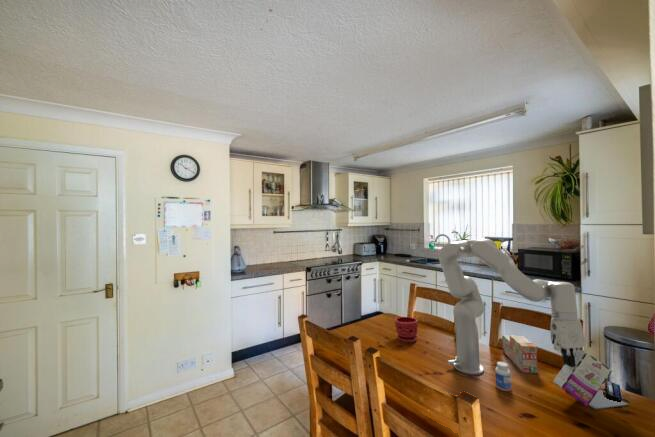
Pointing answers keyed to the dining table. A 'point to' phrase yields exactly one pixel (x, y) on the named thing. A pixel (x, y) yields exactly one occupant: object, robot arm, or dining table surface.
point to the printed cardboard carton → (521, 352)
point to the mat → (604, 402)
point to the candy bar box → (583, 377)
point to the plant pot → (406, 329)
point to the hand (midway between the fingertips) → (569, 365)
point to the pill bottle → (503, 376)
